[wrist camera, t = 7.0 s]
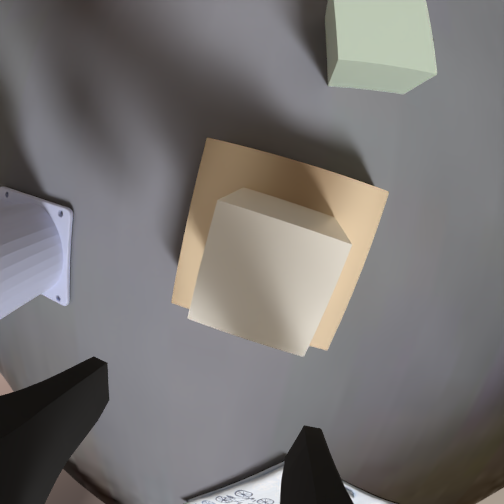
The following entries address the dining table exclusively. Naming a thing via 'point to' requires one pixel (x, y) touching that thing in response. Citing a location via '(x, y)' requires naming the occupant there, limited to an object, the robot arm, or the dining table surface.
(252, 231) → the cream block
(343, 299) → the oak base
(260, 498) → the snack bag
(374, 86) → the sage block
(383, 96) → the dining table surface
